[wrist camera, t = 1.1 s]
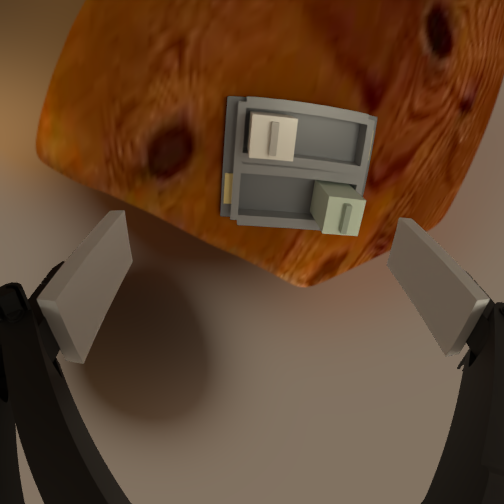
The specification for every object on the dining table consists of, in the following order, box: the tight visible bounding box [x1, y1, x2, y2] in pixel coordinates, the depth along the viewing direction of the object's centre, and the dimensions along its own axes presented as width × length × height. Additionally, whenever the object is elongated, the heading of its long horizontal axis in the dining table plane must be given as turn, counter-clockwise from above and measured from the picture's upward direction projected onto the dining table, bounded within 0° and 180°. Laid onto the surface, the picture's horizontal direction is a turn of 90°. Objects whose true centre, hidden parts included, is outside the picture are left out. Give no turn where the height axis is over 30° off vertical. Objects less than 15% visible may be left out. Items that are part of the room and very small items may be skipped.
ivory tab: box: [247, 111, 298, 162], centre depth 27 cm, size 4×4×7 cm
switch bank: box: [220, 96, 377, 230], centre depth 32 cm, size 14×17×3 cm
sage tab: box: [310, 180, 366, 236], centre depth 31 cm, size 4×4×7 cm
